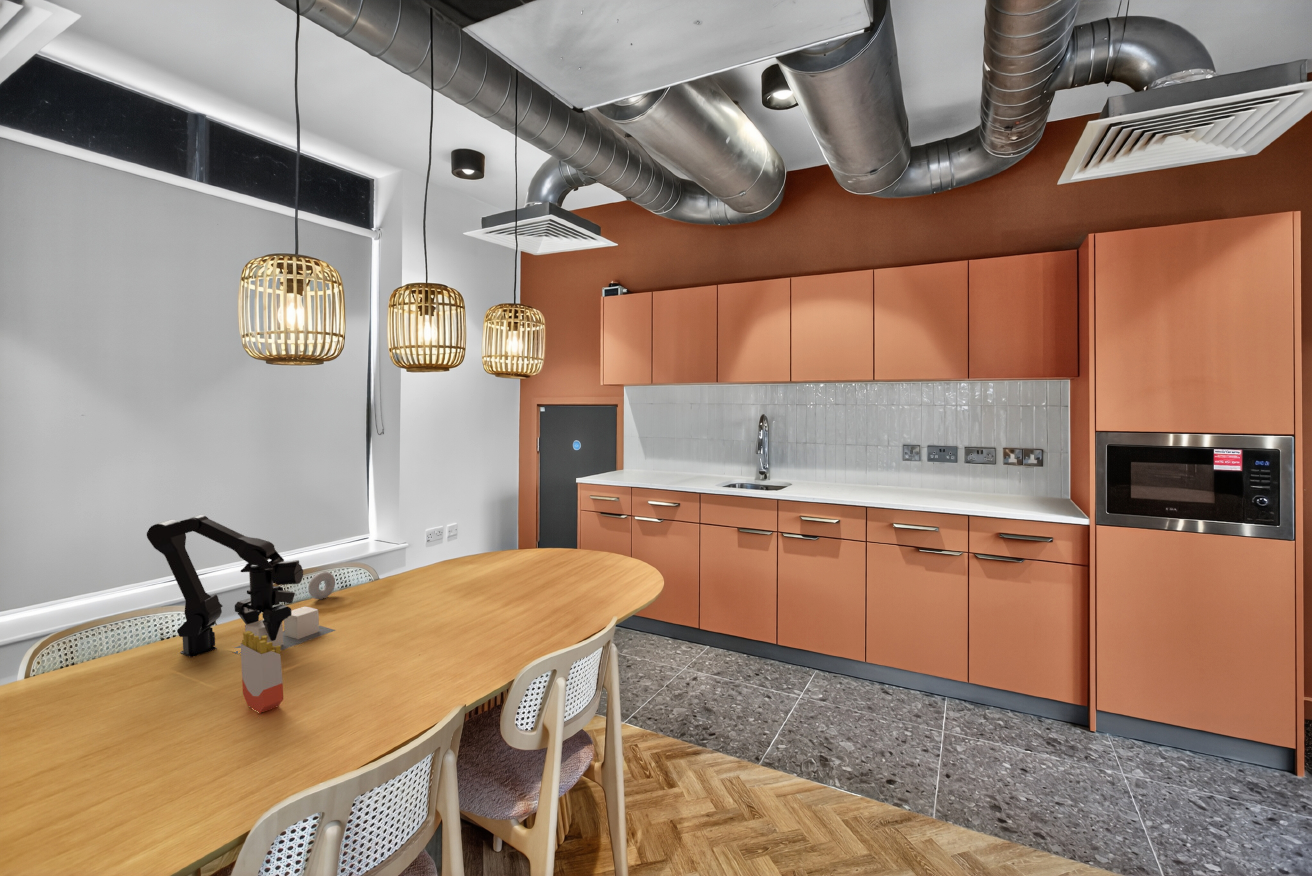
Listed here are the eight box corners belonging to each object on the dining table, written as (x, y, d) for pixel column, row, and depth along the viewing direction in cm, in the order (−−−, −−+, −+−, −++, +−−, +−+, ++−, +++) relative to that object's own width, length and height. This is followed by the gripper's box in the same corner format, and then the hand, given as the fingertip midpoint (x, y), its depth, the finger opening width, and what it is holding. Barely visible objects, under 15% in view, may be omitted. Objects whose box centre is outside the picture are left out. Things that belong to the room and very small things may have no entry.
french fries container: (264, 695, 144) (260, 624, 143) (285, 708, 138) (282, 634, 137) (243, 704, 141) (239, 630, 139) (264, 717, 135) (260, 640, 133)
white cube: (259, 652, 168) (258, 629, 168) (246, 648, 171) (245, 625, 171) (283, 644, 174) (282, 621, 174) (270, 640, 177) (269, 617, 177)
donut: (313, 603, 210) (312, 576, 210) (306, 602, 211) (305, 575, 211) (337, 595, 219) (336, 568, 219) (331, 594, 221) (330, 567, 220)
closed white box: (297, 639, 178) (296, 616, 178) (284, 635, 181) (283, 612, 181) (319, 631, 184) (318, 609, 184) (306, 627, 187) (305, 606, 187)
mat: (255, 660, 164) (254, 659, 164) (227, 651, 170) (227, 650, 170) (336, 630, 185) (336, 629, 185) (308, 623, 192) (308, 622, 192)
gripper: (308, 582, 175) (310, 633, 176) (271, 573, 183) (273, 622, 184) (269, 593, 165) (271, 647, 166) (232, 583, 173) (234, 635, 174)
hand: (264, 637), depth 173 cm, fingers open, 9 cm apart
